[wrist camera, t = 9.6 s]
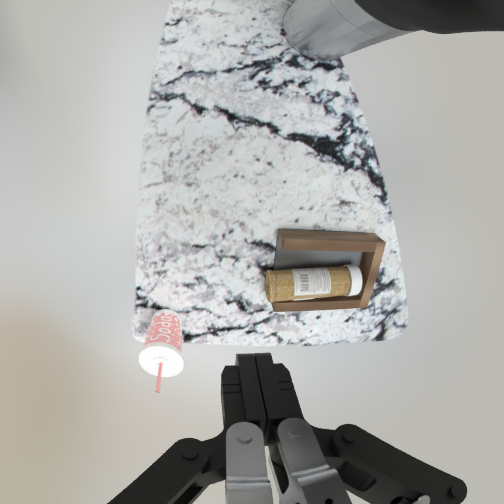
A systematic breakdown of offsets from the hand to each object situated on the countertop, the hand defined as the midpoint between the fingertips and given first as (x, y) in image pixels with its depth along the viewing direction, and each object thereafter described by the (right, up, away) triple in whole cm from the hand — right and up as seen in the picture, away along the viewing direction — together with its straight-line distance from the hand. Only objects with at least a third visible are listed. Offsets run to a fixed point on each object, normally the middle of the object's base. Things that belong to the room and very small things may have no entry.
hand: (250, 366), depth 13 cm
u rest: (+10, +3, +30) cm, 32 cm away
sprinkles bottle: (+2, +1, +28) cm, 28 cm away
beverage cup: (-13, -5, +31) cm, 34 cm away
